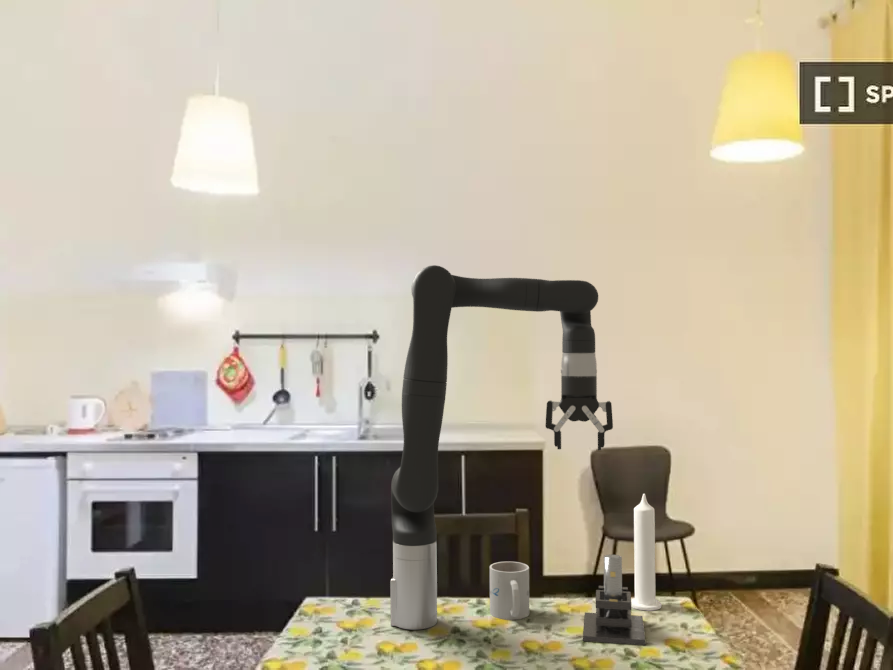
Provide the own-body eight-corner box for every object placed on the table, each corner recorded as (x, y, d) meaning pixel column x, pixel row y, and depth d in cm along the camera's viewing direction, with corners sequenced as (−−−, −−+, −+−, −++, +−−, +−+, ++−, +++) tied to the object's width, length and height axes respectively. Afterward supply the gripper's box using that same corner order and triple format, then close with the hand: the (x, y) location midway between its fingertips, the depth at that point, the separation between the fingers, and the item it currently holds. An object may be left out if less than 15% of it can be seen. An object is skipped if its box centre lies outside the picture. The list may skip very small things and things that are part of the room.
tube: (604, 621, 164) (603, 554, 165) (622, 623, 164) (621, 554, 164) (604, 628, 161) (603, 559, 161) (622, 629, 160) (621, 559, 160)
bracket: (582, 640, 157) (582, 604, 157) (584, 617, 170) (584, 583, 170) (645, 645, 154) (645, 608, 154) (642, 620, 168) (642, 586, 168)
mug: (490, 605, 178) (490, 561, 178) (529, 606, 177) (528, 561, 177) (488, 625, 166) (488, 577, 166) (529, 626, 165) (529, 578, 165)
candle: (662, 611, 173) (661, 497, 174) (629, 609, 175) (628, 496, 175) (660, 601, 180) (659, 491, 181) (628, 599, 182) (627, 490, 182)
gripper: (612, 373, 173) (613, 448, 173) (547, 373, 176) (547, 446, 176) (612, 374, 166) (613, 452, 166) (544, 374, 169) (544, 450, 169)
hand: (579, 449), depth 171 cm, fingers open, 8 cm apart
